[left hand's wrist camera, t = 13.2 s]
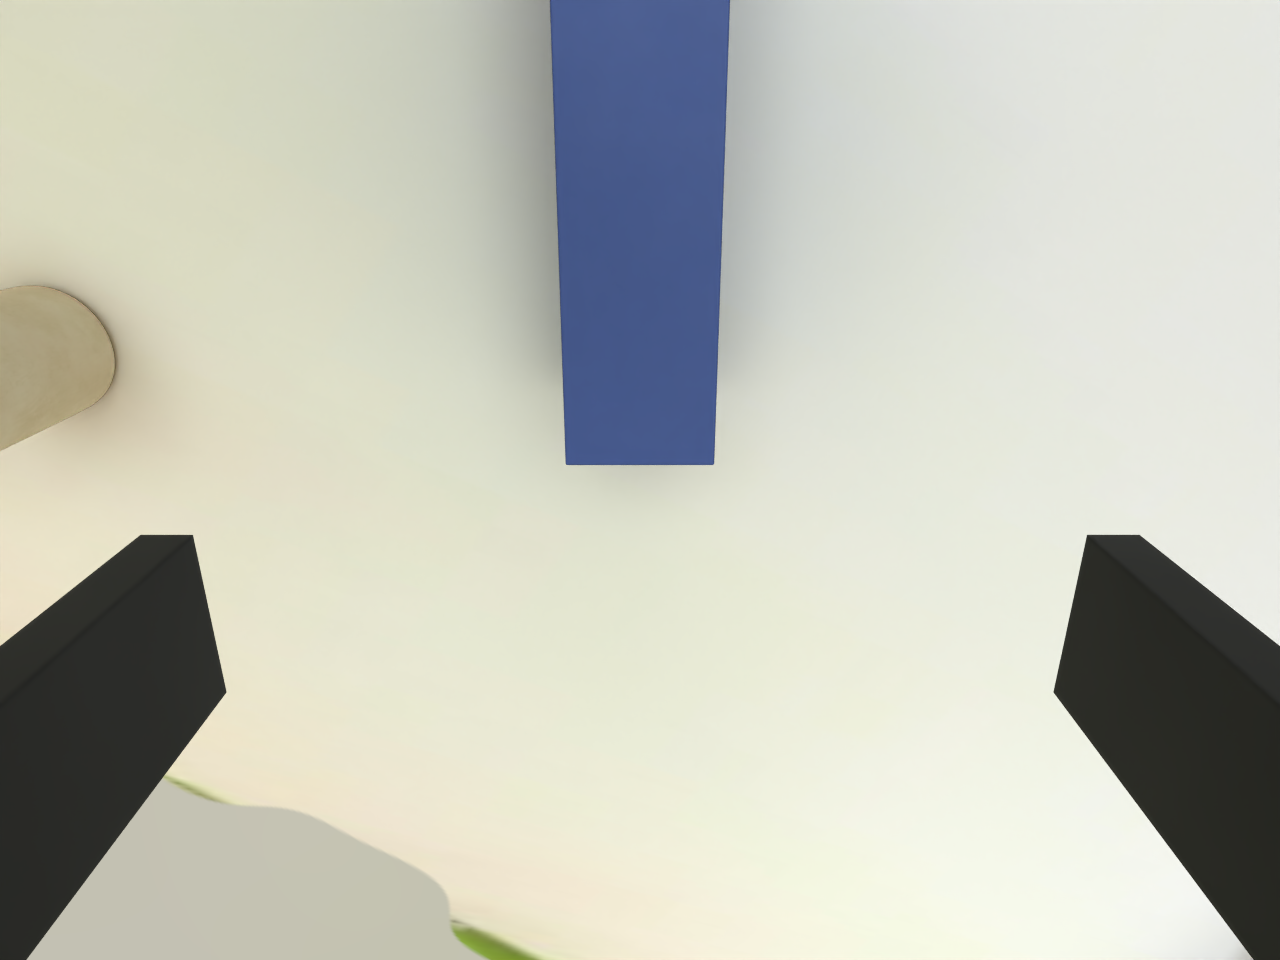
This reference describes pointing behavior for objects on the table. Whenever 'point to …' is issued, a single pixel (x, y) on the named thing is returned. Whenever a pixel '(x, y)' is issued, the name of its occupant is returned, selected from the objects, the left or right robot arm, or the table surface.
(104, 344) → the candle
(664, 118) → the bar
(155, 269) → the table surface
